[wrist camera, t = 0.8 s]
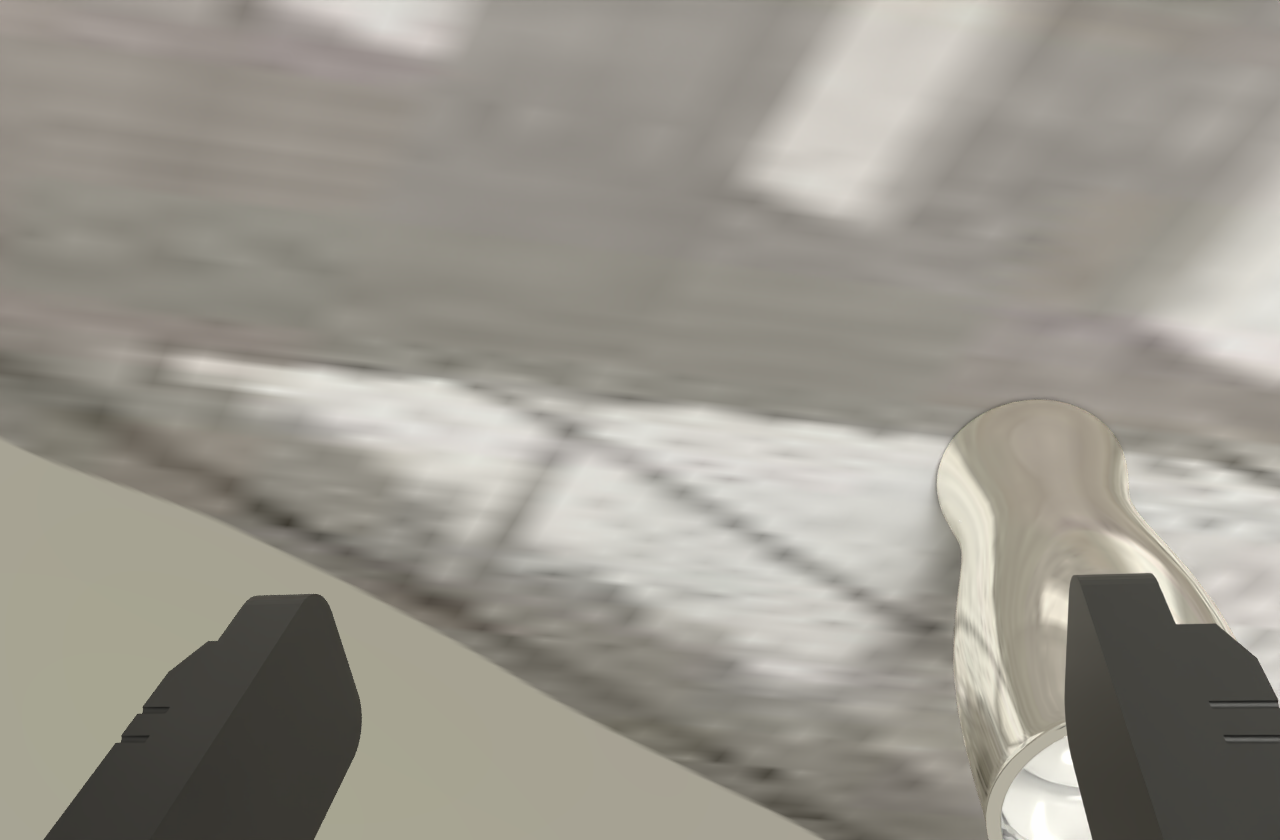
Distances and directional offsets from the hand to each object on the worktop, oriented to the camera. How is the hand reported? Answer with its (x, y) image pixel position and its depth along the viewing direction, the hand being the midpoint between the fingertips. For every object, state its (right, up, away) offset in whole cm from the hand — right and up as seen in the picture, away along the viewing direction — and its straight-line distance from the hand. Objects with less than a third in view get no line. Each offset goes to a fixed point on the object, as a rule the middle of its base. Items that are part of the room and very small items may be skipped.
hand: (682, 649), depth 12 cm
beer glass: (+13, +1, +26) cm, 29 cm away
